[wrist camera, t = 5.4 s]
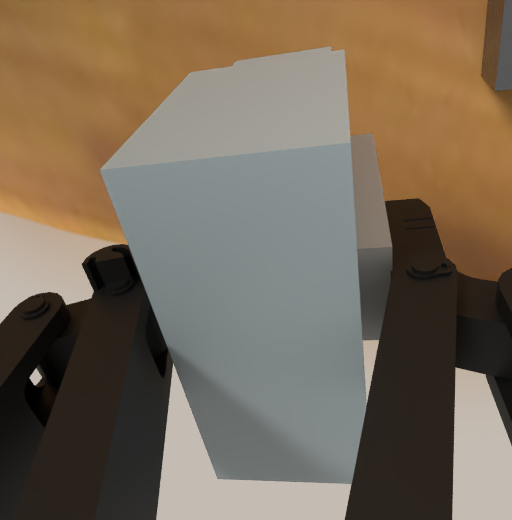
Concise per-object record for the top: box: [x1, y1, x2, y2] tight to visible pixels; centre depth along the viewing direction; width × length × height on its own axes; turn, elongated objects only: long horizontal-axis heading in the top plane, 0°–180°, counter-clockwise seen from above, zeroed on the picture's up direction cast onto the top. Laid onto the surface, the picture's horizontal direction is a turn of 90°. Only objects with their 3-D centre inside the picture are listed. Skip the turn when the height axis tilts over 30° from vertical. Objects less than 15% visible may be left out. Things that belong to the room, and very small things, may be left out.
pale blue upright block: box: [100, 46, 367, 484], centre depth 14 cm, size 4×9×10 cm, turn 10°
